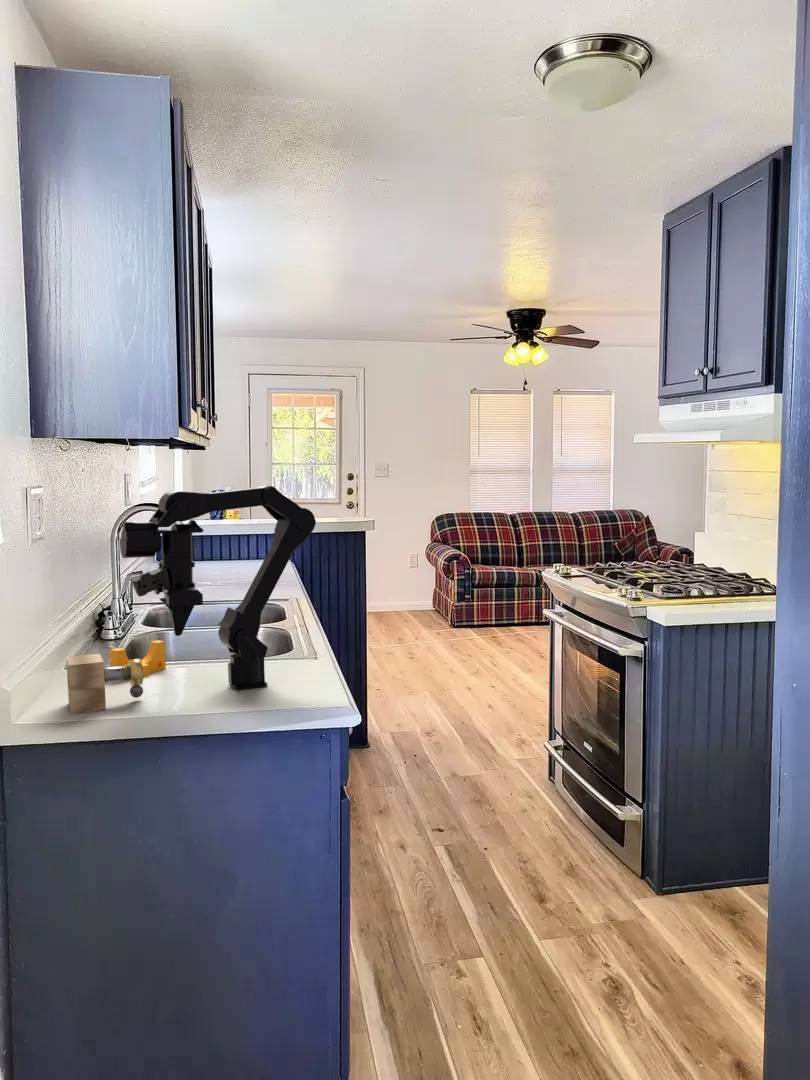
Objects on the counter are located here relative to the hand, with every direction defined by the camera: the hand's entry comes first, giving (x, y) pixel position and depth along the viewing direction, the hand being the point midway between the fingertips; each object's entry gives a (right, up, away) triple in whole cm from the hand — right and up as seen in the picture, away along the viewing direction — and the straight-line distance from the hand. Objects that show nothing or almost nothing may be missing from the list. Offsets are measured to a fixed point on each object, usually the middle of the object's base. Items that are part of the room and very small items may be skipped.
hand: (178, 635), depth 163 cm
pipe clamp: (-13, -11, +19) cm, 25 cm away
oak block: (-15, -13, -6) cm, 21 cm away
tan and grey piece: (-11, -12, -4) cm, 16 cm away
